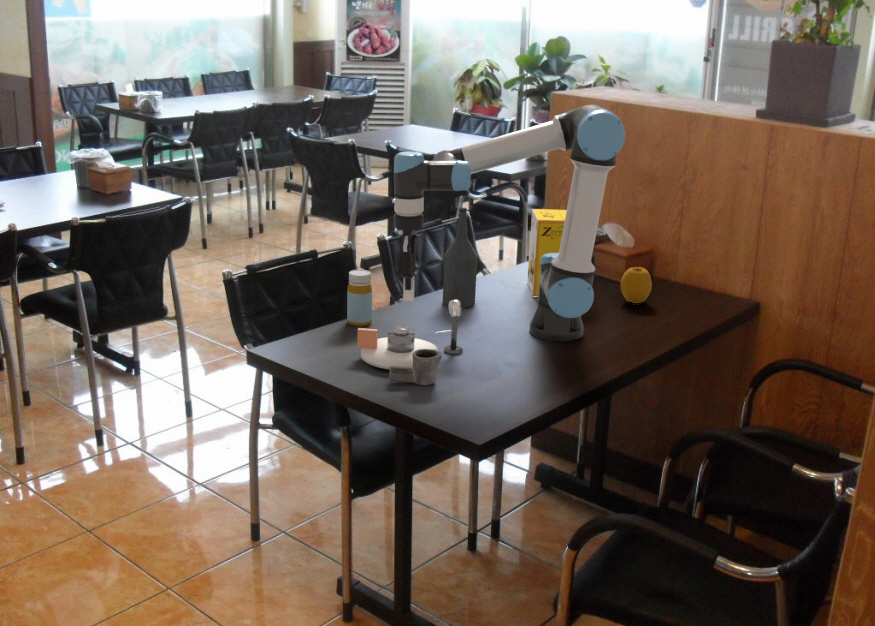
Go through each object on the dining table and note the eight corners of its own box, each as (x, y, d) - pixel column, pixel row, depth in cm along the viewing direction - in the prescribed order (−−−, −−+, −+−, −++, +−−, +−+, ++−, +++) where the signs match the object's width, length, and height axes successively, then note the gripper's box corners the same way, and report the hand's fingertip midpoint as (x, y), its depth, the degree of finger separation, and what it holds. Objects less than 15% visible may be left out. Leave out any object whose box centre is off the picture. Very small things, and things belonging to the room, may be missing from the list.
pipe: (388, 378, 240) (389, 348, 237) (440, 378, 241) (441, 348, 238) (389, 388, 234) (390, 357, 231) (442, 388, 235) (443, 357, 232)
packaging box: (583, 299, 307) (590, 221, 299) (532, 297, 306) (537, 220, 298) (576, 284, 322) (582, 210, 314) (527, 282, 322) (532, 208, 314)
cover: (416, 344, 255) (416, 325, 253) (411, 354, 248) (412, 334, 247) (390, 342, 256) (390, 323, 254) (384, 351, 249) (385, 331, 248)
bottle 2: (481, 306, 296) (486, 210, 286) (454, 310, 291) (458, 213, 281) (463, 297, 304) (467, 203, 295) (436, 301, 299) (439, 205, 290)
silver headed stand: (457, 347, 262) (459, 296, 257) (466, 353, 258) (468, 301, 253) (430, 351, 258) (432, 299, 254) (439, 357, 254) (441, 305, 250)
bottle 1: (368, 328, 274) (368, 277, 269) (344, 325, 275) (344, 274, 271) (374, 320, 281) (375, 270, 276) (351, 317, 282) (351, 268, 277)
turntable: (442, 345, 260) (443, 322, 258) (432, 372, 241) (433, 348, 239) (365, 339, 262) (365, 316, 260) (349, 366, 243) (349, 342, 241)
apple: (627, 295, 311) (630, 260, 307) (655, 302, 306) (659, 266, 302) (613, 303, 304) (617, 267, 300) (642, 309, 298) (646, 273, 295)
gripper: (398, 207, 256) (398, 292, 264) (389, 218, 244) (390, 307, 251) (426, 208, 255) (426, 293, 263) (419, 219, 243) (419, 308, 250)
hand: (408, 300), depth 257 cm, fingers closed
